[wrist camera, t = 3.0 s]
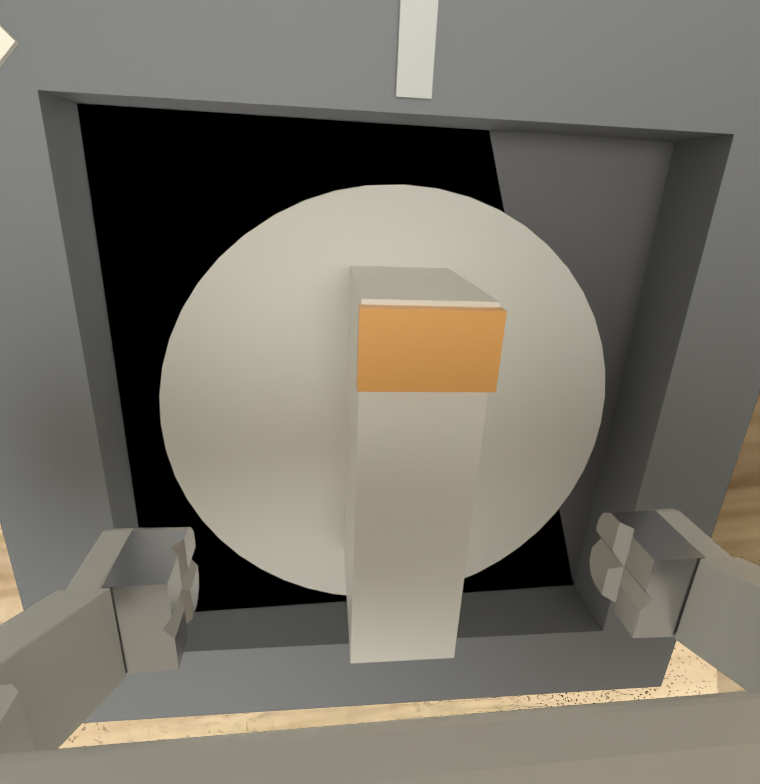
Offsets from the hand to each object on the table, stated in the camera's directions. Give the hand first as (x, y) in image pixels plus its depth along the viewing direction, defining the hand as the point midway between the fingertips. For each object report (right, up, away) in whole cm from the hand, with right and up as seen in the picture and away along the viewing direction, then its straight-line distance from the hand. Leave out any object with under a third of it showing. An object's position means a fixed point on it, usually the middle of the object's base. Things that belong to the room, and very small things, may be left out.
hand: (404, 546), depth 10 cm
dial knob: (0, +3, +7) cm, 7 cm away
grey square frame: (0, +3, +7) cm, 7 cm away
